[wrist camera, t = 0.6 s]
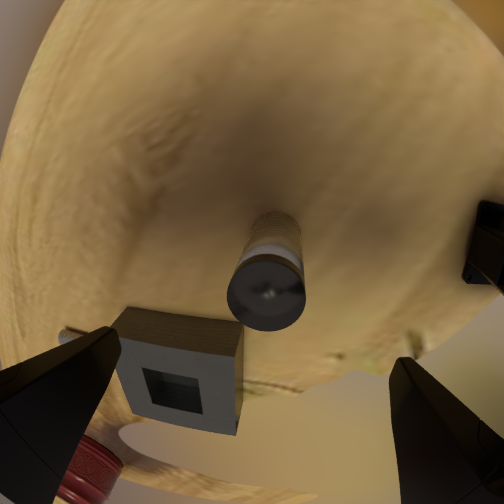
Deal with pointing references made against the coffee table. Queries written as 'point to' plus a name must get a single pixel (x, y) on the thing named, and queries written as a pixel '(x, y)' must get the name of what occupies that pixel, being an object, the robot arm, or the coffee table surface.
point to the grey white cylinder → (269, 276)
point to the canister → (89, 475)
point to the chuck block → (180, 368)
